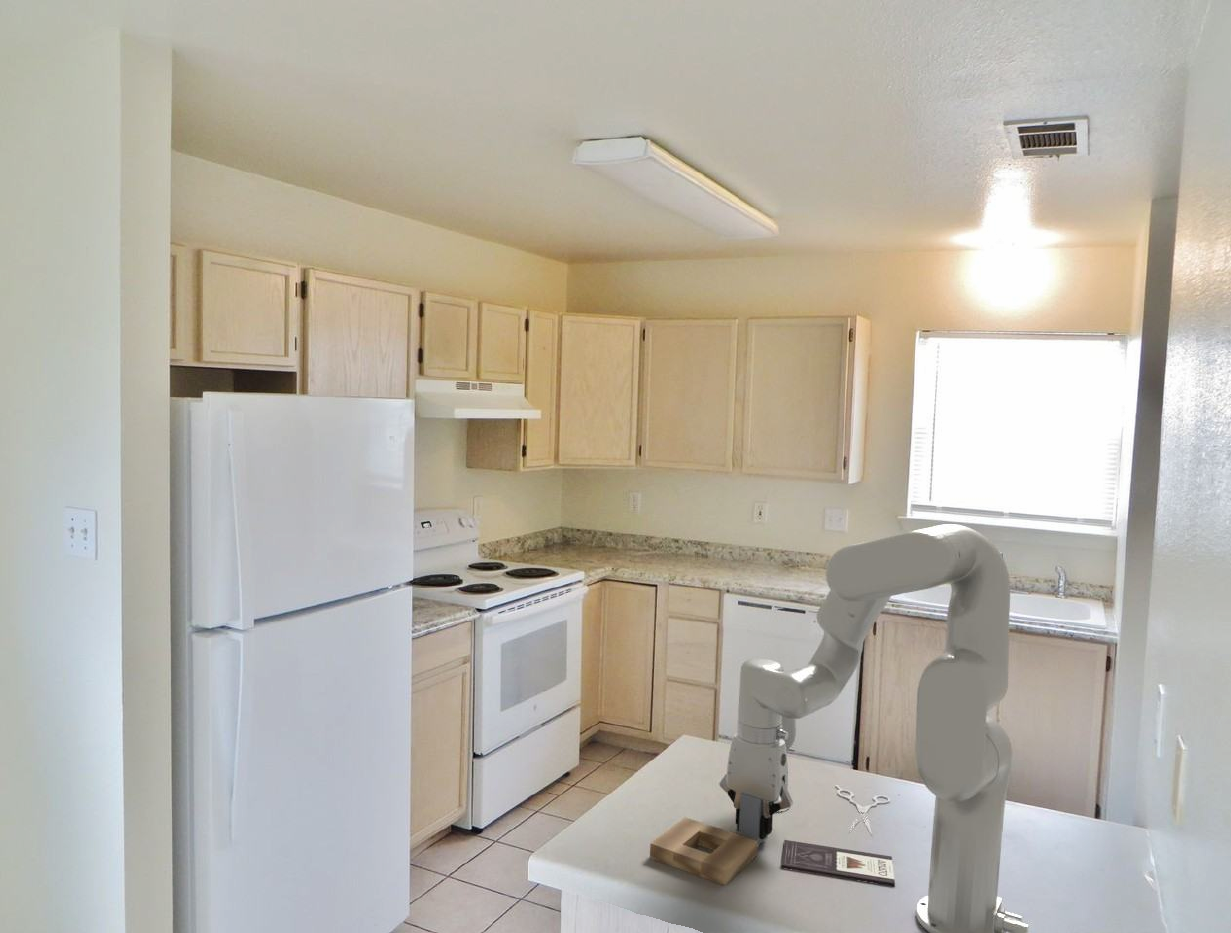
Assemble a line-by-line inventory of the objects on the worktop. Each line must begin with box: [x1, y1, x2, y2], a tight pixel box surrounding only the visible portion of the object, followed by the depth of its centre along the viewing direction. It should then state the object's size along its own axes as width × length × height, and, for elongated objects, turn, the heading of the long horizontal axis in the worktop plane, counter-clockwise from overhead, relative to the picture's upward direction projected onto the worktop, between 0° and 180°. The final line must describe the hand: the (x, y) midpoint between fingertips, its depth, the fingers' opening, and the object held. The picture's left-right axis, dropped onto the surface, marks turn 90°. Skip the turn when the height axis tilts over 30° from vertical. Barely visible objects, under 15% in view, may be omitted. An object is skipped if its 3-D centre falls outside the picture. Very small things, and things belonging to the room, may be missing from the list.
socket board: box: [649, 816, 758, 886], centre depth 150 cm, size 14×12×2 cm
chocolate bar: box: [780, 839, 896, 888], centre depth 150 cm, size 9×1×18 cm
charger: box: [737, 793, 769, 846], centre depth 157 cm, size 4×4×9 cm
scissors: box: [834, 784, 891, 836], centre depth 170 cm, size 11×1×20 cm
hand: (753, 831), depth 157 cm, fingers closed on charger, 3 cm apart
